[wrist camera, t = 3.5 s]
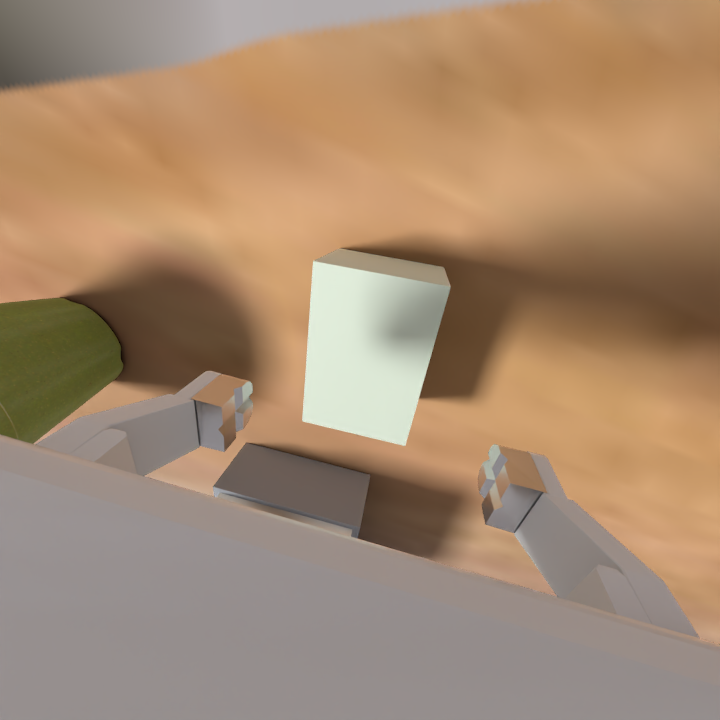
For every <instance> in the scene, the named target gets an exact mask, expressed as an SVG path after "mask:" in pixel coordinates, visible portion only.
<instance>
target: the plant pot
mask: <svg viewBox="0 0 720 720" xmlns="http://www.w3.org/2000/svg"><path fill="white" fill-rule="evenodd" d="M122 369H123V363H122V361H121V346H120V343H119V341H118V340H117V338H116V336H115V334H114V333H113V331H112V330H111V329H110V327H109V326H108V325H107V324H106V323H105V321H104V320H103V319H102V318H100V317H99V316H98V315H97V314H96V313H95V312H94V311H92V310H91V309H89V308H88V307H86V306H84V305H82V304H78V303H74V302H71V301H69V300H66V299H65V298H52V299H39V300H29V301H19V302H9V303H0V434H1V435H4V436H7V437H11V438H14V439H18V440H21V441H25V442H28V443H31V444H33V443H34V442H36V441H37V440H38V439H39V438H41V437H42V436H43V435H44V434H46V433H47V432H48V431H50V430H51V429H52V428H53V427H55V426H56V425H57V424H58V423H60V422H61V421H62V420H64V419H65V418H66V417H67V416H69V415H70V414H71V413H73V412H74V411H75V410H76V409H78V408H79V407H80V406H81V405H83V404H84V403H85V402H86V401H88V400H89V399H90V398H92V397H93V396H94V395H95V394H97V393H98V392H99V391H100V390H102V389H103V388H104V387H106V386H107V385H108V384H109V383H111V382H112V381H113V380H114V379H116V378H117V377H118V376H119V374H120V373H121V371H122Z"/></svg>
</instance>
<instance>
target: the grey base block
mask: <svg viewBox="0 0 720 720" xmlns="http://www.w3.org/2000/svg"><path fill="white" fill-rule="evenodd" d="M370 476H371V475H369V474H365V473H362V472H358V471H354V470H350V469H346V468H342V467H338V466H335V465H331V464H327V463H323V462H319V461H315V460H311V459H308V458H304V457H300V456H296V455H292V454H288V453H285V452H281V451H277V450H273V449H269V448H265V447H261V446H258V445H254V444H250V443H246V444H245V445H244V446H243V448H242V449H241V450H240V452H239V453H238V454H237V456H236V457H235V458H234V460H233V461H232V462H231V464H230V465H229V466H228V468H227V469H226V470H225V472H224V473H223V474H222V475H221V477H220V478H219V479H218V481H217V482H216V483H215V485H214V486H213V491H214V497H217V496H218V494H219V493H223V494H227V495H230V496H234V497H237V498H241V499H245V500H248V501H252V502H255V503H259V504H263V505H266V506H270V507H273V508H277V509H281V510H284V511H288V512H291V513H295V514H299V515H302V516H306V517H309V518H313V519H317V520H320V521H324V522H327V523H331V524H335V525H338V526H342V527H345V528H349V529H352V534H351V537H354V538H357V539H358V535H359V531H360V526H361V521H362V516H363V511H364V506H365V501H366V496H367V491H368V486H369V481H370Z"/></svg>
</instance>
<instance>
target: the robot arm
mask: <svg viewBox="0 0 720 720" xmlns="http://www.w3.org/2000/svg"><path fill="white" fill-rule="evenodd" d="M252 392H253V388H252V383H251V382H250V381H247V380H243V379H240V378H236V377H232V376H229V375H225V374H221V373H217V372H214V371H205V372H204V373H203V374H201V375H200V376H199V377H197V378H196V379H195V380H193V381H192V382H191V383H189V384H188V385H187V386H185V387H184V388H183V389H181V390H180V391H179V392H177V393H176V394H175V395H172V394H167V395H163V396H160V397H156V398H152V399H148V400H144V401H140V402H137V403H133V404H129V405H125V406H121V407H118V408H114V409H110V410H106V411H102V412H99V413H95V414H91V415H87V416H83V417H79V418H78V419H76V420H74V421H73V422H71V423H70V424H68V425H66V426H65V427H63V428H61V429H60V430H58V431H57V432H55V433H53V434H52V435H50V436H48V437H47V438H45V439H44V440H42V441H40V442H39V443H37V444H31V443H28V442H25V441H21V440H18V439H14V438H11V437H7V436H4V435H1V434H0V720H720V644H717V643H714V642H710V641H707V640H703V639H700V638H699V636H698V634H697V633H696V631H695V630H694V628H693V627H692V625H691V623H690V622H689V620H688V619H687V617H686V616H685V614H684V612H683V611H682V609H681V608H680V606H679V605H678V603H677V601H676V600H675V598H674V597H673V595H672V594H671V592H670V591H669V589H668V587H667V586H666V584H665V583H664V581H663V580H662V579H660V578H659V577H658V576H657V575H656V574H655V573H654V572H653V571H652V570H650V569H649V568H648V567H647V566H646V565H645V564H644V563H643V562H641V561H640V560H639V559H638V558H637V557H636V556H635V555H634V554H632V553H631V552H630V551H629V550H628V549H627V548H626V547H625V546H624V545H622V544H621V543H620V542H619V541H618V540H617V539H616V538H615V537H613V536H612V535H611V534H610V533H609V532H608V531H607V530H606V529H604V528H603V527H602V526H601V525H600V524H599V523H598V522H597V521H596V520H594V519H593V518H592V517H591V516H590V515H589V514H588V513H587V512H585V511H584V510H583V509H582V508H581V507H580V506H579V505H578V504H577V503H575V502H574V501H573V500H569V499H567V497H566V495H565V492H564V490H563V488H562V486H561V484H560V482H559V480H558V478H557V476H556V474H555V472H554V470H553V468H552V466H551V464H550V462H549V460H548V459H547V458H546V457H545V456H544V455H540V454H536V453H532V452H525V451H521V450H517V449H513V448H509V447H505V446H501V445H497V444H494V445H493V446H492V447H491V448H490V450H489V452H488V454H489V458H490V459H489V460H487V461H485V462H483V464H482V466H481V468H480V470H479V475H478V488H479V493H480V494H481V495H482V496H483V498H484V501H483V503H482V509H483V514H484V519H485V524H486V525H489V526H493V527H496V528H499V529H502V530H506V531H509V532H512V533H515V534H514V535H515V537H516V538H517V539H518V541H519V542H520V544H521V545H522V547H523V548H524V549H525V551H526V552H527V554H528V555H529V557H530V558H531V559H532V561H533V562H534V564H535V565H536V567H537V568H538V569H539V571H540V572H541V574H542V575H543V577H544V578H545V579H546V581H547V582H548V584H549V585H550V587H551V588H552V589H553V591H554V592H555V594H556V595H557V597H556V596H553V595H549V594H546V593H542V592H539V591H535V590H532V589H529V588H525V587H522V586H518V585H515V584H512V583H508V582H505V581H501V580H498V579H494V578H491V577H488V576H484V575H481V574H477V573H474V572H470V571H467V570H464V569H460V568H457V567H453V566H450V565H446V564H443V563H440V562H436V561H433V560H429V559H426V558H422V557H419V556H416V555H412V554H409V553H405V552H402V551H398V550H395V549H392V548H388V547H385V546H381V545H378V544H374V543H371V542H368V541H364V540H361V539H357V538H354V537H350V536H347V535H344V534H340V533H337V532H333V531H330V530H326V529H323V528H320V527H316V526H313V525H309V524H306V523H302V522H299V521H296V520H292V519H289V518H285V517H282V516H279V515H275V514H272V513H268V512H265V511H261V510H258V509H255V508H251V507H248V506H244V505H241V504H237V503H234V502H230V501H227V500H224V499H220V498H217V497H213V496H210V495H206V494H203V493H200V492H196V491H193V490H189V489H186V488H182V487H179V486H176V485H172V484H169V483H165V482H162V481H158V480H155V479H152V478H148V477H145V475H147V474H149V473H150V472H152V471H154V470H156V469H158V468H160V467H162V466H164V465H166V464H168V463H170V462H172V461H174V460H176V459H177V458H179V457H181V456H183V455H185V454H187V453H189V452H191V451H193V450H195V449H197V448H199V446H203V447H207V448H211V449H215V450H219V451H223V452H225V451H226V450H227V448H228V447H229V446H230V445H231V443H232V442H233V441H234V440H235V439H236V432H237V431H239V430H242V429H244V427H245V426H246V425H247V423H248V421H249V419H250V417H251V414H252V409H253V402H252V401H251V399H250V398H249V396H250V395H251V393H252Z"/></svg>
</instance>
